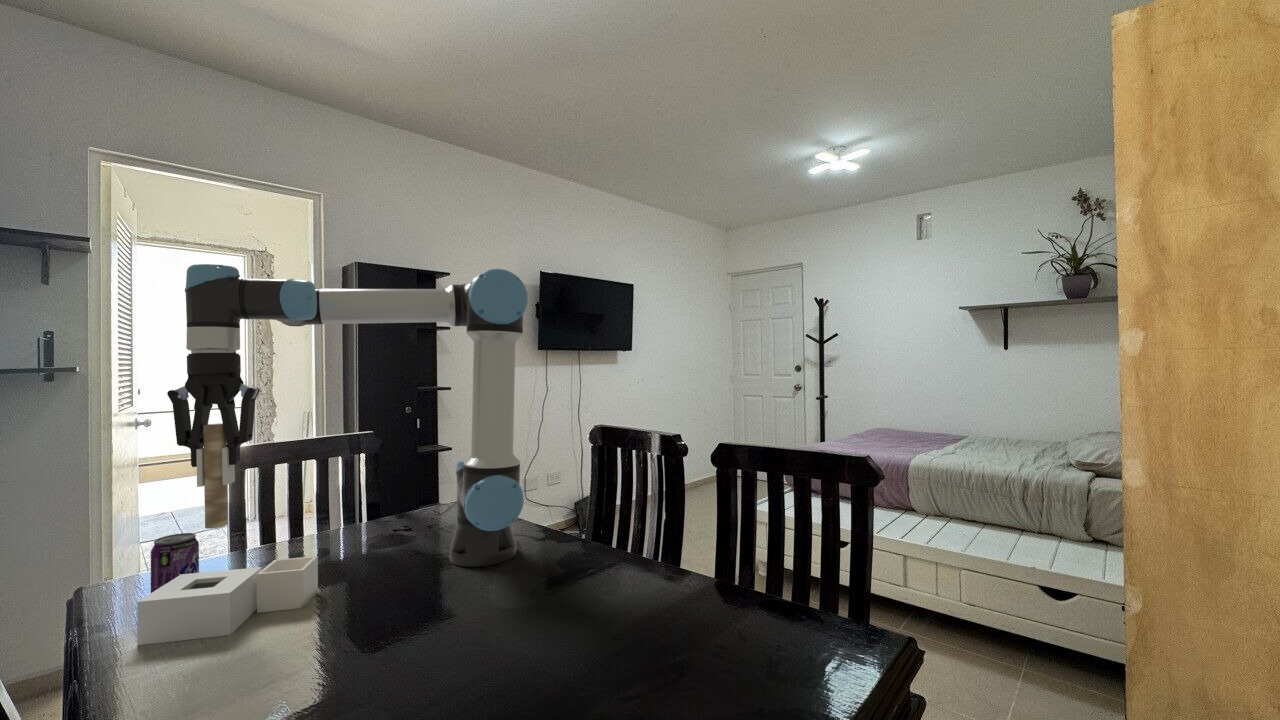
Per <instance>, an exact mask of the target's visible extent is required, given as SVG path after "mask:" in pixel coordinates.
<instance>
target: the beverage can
mask: <svg viewBox="0 0 1280 720" xmlns="http://www.w3.org/2000/svg"><path fill="white" fill-rule="evenodd" d="M196 536H197V535H196V533H193V532H182V533H175V534H174V533H173V534H170V535H165V536H161V537H159V538H157V539H154V540H153V543H154V544H153V546H152V548H151V551H150V594H151V593H152V592H154V591H155V590H157V589H159V588H160V587H162V586H163V585H165V584H167V583H168V582H170V581H171V580H173V579H175V578H176V577H178V576H179V575H181V574H191V573H200V543H199V541H198V540H197V538H196Z"/></svg>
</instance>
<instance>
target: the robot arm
mask: <svg viewBox="0 0 1280 720" xmlns="http://www.w3.org/2000/svg"><path fill="white" fill-rule="evenodd" d="M185 278H186V279H185V288H184V292H185V313H186V314H185V315H186V350H188V351H190V352H191V353H188V355H187V356H186V373H187V379H186V381H185V383H184V385H183V386H182V387H179V388H177V389H170V390H168V391H167V392H166V393H167V394H166V395H167V396H168V398H169V401H170V402H171V404H172V410H173V419H174V429H175V437H176V438H175V439H176V444H177V446H178V447H185V448H188V449H189V450H190V465H191V467H192V468H196V488H200V487H204V430H203V425H206V424H209V421H210V420H209V419H210V414H211V410H212V409H213V405H217V408H218V410H219V411H220V417H221V422H222V423H223V427H224V432H225V437H226V442H227V445H225V446H226V447H224V448H222V483H223V485H227V486H228V485H231V484H233V483H235V481H236V476H235V475H236V472H235V471H236V468H235V466H236V465H238V464H240V462H241V446H242V445H243V444H245V443H248V442H251V441H252V440H253V436H254V422H255V409H256V408H255V407H256V399H257V398H258V396H259V394H260V391H261V390H260V388H259V387H253V386H249V385H247V384H245V383H244V381H243V379H242V377H241V371H242V368H241V366H242V364H241V363H242V362H241V355H240V354H239V353H237V351H240V349H241V325H240V324H241V320H265V321H266V320H271V321H272V320H273V321H277V322H280V323H281V324H282V325H283V324H284V325H285V326H288V327H304V326H307V325H309V326H311V325H315V326H316V325H351V324H353V325H355V324H356V325H357V324H360V325H361V324H399V323H400V324H402V323H403V324H405V323H406V324H407V323H408V324H409V323H417V324H419V323H448V324H449V325H451V326H452V327H466V335H468V337H470V339H471V340H472V341H473V362H472V363H473V365H472V366H473V368H472V405H471V409H472V413H471V418H472V419H471V445H470V446H471V450H470V451H471V453H470V456H469V457H468V458H463V459H460V460H458V462H457V463H456V471H455V475H456V528H455V531H454V534H453V537H452V540H451V543H450V547H449V558H448V559H449V561H450V563H451V564H454V565H456V566H459V567H469V568H471V567H472V568H475V567H476V568H478V567H486V566H492V565H498V564H500V563H501V564H502V563H503V562H506V561H509V560H511V559H512V558H514V557H515V556H516V554H517V540H516V538H515V535H514V532H513V530H512V525H513V523H514V522H515V521H516V520H517V519H518V518H519V516H520V515H521V513H522V510H523V507H524V501H525V499H524V494H523V493H524V491H523V488H522V486H521V484H520V483H521V482H520V479H521V461H520V460H519V458H517V457H516V456H515V454H514V422H515V420H514V419H515V382H516V381H515V376H516V375H515V374H516V373H515V371H516V343H517V341H518V340H519V339H521V337H523V335H524V333H523V332H524V330H523V329H524V315H525V312H526V310H527V307H528V306H527V305H528V303H529V302H528V301H529V295H528V290H527V288H526V285H525V283H524V282H523V280H521V279H520V277H519V276H517V275H516V274H515V273H513V272H511V271H509V270H507V269H503V268H492V269H488V270H484V271H481V272H480V273H479V274H477V275H476V276H474V278H473V279H472V280H471V282H469V283H461V284H450V285H449V286H448V287H447V288H316V286H315V284H314V282H312V281H310V280H303V279H295V278H289V279H288V278H287V279H283V278H282V279H281V278H276V279H275V278H249V277H242V276H241V275H240V272H239V269H238V268H237V267H234V266H232V265H227V264H216V263H195V264H192V265H190V266H189V267H187V269H186V277H185ZM239 392H240V397H241V402H240V403H241V404H240V415H239V418H240V419H239V423H238V419H237V413H236V410H235V407H236V401H235V398H236V396H237V395H238V394H239ZM189 394H190V395H191V397H192V398H193V399H194V404H193V405H194V406H193V409H194V413H193V414H194V416H193V421H192V420H191V414H190V405H189V400H188V399H189V398H190V397H189V396H190V395H189ZM191 422H192V423H191ZM238 424H239V425H238Z"/></svg>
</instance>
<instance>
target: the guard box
mask: <svg viewBox="0 0 1280 720" xmlns="http://www.w3.org/2000/svg"><path fill="white" fill-rule="evenodd" d="M261 570H263V567H262V566H261V567H249V568H238V569H237V568H236V569H225V570H215V571H213V570H212V571H205V572H204V571H203V572H199V573H191V574H181V575H179V576H178V577H176V578H175V579H173V580H171V581H170V582H168V583H167V584H165V585H163V586H162V587H160V588H159V589H157V590H155V591H154V592H152V593H151V592H150V593H149V594H148V595H146V596H144V597H142V598H141V599H139V600H138V601H137V602H136V603H137V605H136V606H137V607H136V608H137V611H136V613H137V614H136V617H137V618H136V621H137V623H136V624H137V626H136V627H137V628H136V630H137V635H136V636H137V641H136V642H137V644H136V645H137V646H143V645H144V646H145V645H153V644H161V643H169V642H178V641H179V642H180V641H186V640H197V639H205V638H213V637H224V636H230V635H232V634H233V633H234V632H235V631H236V630H237V629H238V628H239V627H240V626H241V625H242V624H243V623H245V622H246V620H247V619H249V618H250V616H252V615H253V614H254V613H255V612H257V574H258V573H259V572H260V571H261Z"/></svg>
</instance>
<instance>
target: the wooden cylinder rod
mask: <svg viewBox="0 0 1280 720" xmlns="http://www.w3.org/2000/svg"><path fill="white" fill-rule="evenodd" d="M203 430H204V447H203V448H204V486H203V487H204V493H203V494H204V528H205V529H208V530H209V529H210V530H211V529H217V528H219V529H220V528H222V527H225V526H228V525H229V514H228V513H229V512H228V511H229V509H228V508H229V507H228V504H229V503H228V498H229V496H228V485H223V483H222V448H224V447H226V446H225V445H227V442H226V437H225V432H224V427H223V422H222V423H219V422H218V423H208V424H206V425H203Z"/></svg>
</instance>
